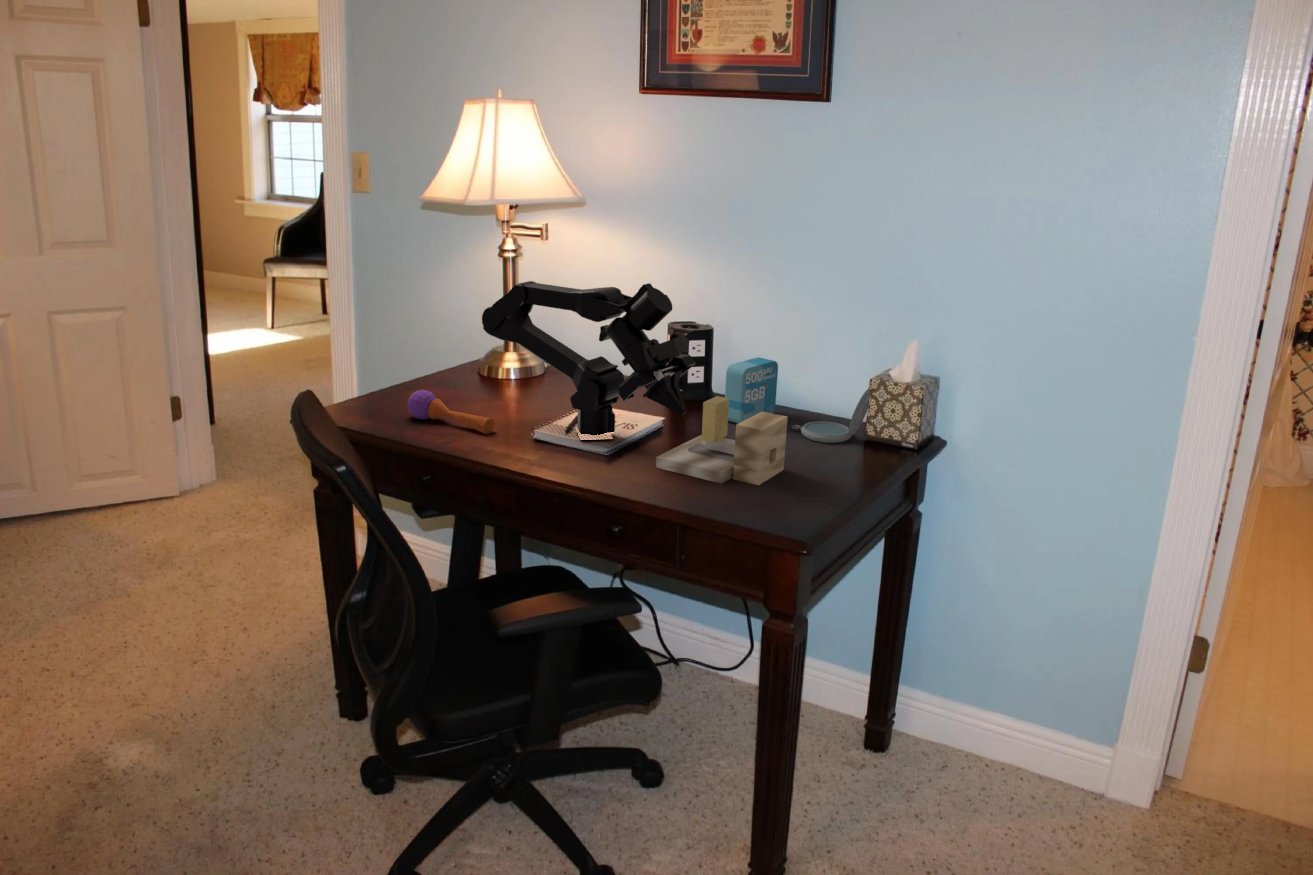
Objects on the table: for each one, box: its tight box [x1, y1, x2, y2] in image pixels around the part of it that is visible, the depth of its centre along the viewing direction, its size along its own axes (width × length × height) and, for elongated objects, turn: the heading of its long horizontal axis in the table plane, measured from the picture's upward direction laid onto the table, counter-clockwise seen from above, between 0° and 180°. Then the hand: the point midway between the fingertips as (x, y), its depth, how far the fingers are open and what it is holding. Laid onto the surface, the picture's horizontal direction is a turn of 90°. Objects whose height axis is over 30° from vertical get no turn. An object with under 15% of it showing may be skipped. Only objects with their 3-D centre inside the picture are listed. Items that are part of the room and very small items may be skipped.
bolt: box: [701, 395, 735, 455], centre depth 190 cm, size 7×5×9 cm
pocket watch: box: [791, 388, 871, 444], centre depth 210 cm, size 10×11×15 cm
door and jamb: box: [655, 412, 789, 486], centre depth 191 cm, size 19×16×10 cm
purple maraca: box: [407, 389, 496, 435], centre depth 211 cm, size 6×6×20 cm
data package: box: [724, 356, 779, 424], centre depth 220 cm, size 12×4×12 cm, turn 138°
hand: (684, 413), depth 194 cm, fingers closed
